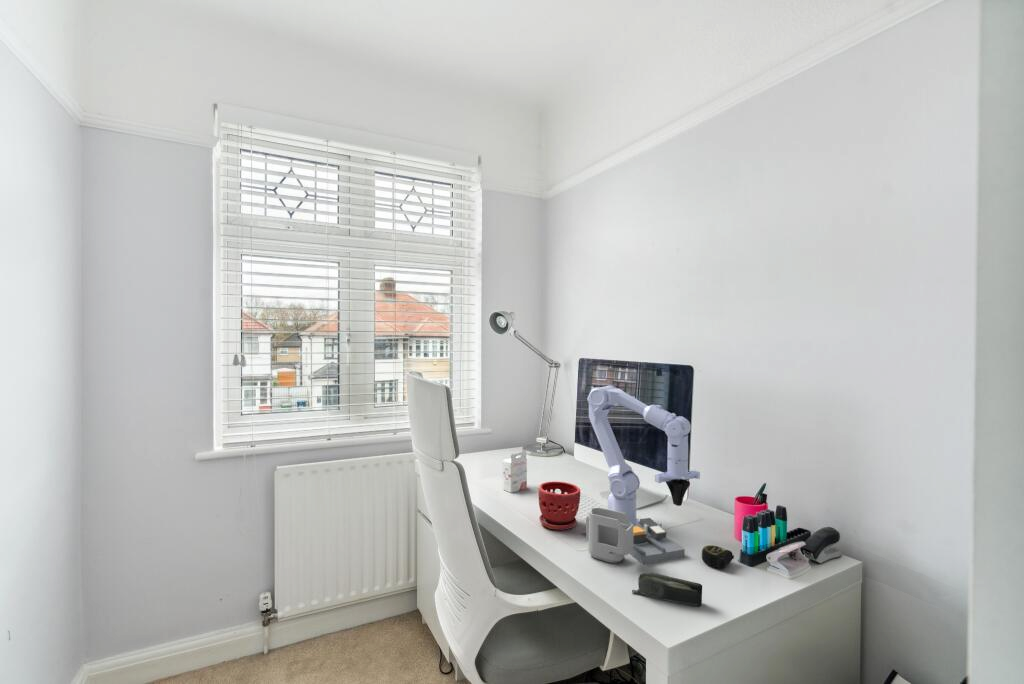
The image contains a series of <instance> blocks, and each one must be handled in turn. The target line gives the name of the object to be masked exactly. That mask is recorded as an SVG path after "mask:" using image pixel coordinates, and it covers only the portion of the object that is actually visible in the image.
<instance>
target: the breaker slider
mask: <svg viewBox="0 0 1024 684" xmlns="http://www.w3.org/2000/svg"><path fill="white" fill-rule="evenodd" d="M633 543H634V544H642V543H646V534H645V531H644V530H643V529H641V528H640V527H638V526H635V527H633Z"/></svg>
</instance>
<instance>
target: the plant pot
mask: <svg viewBox="0 0 1024 684" xmlns="http://www.w3.org/2000/svg"><path fill="white" fill-rule="evenodd" d="M556 490H560V493H556ZM551 491H552V492H551ZM580 502H581V488H580V487H579V486H577V485H576V484H573V483H569V482H566V481H565V482H564V481H545V482H543V483H541V484H539V486H538V505H539V510H540V515H539V518H538V519H539V522H540V523H541V524H542V525H543V526H544V527H546V528H548V529H551V530H555V531H556V530H559V531H563V530H564V531H565V530H568V529H572V528H573V527H574V526H575V525H576V523H577V518H576V516H577V514H578V511H579V508H580Z"/></svg>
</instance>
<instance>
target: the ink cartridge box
mask: <svg viewBox="0 0 1024 684" xmlns="http://www.w3.org/2000/svg"><path fill="white" fill-rule="evenodd" d="M527 461H528V460H527V451H520V452H515V453H512V454H510V458H507V459H503V460H502V481H503V482H502V483H503V485H502V488H503V489H502V490H503V491H505V492H508V493H512V494H513V493H515V492H516V493H517V492H519V491H522V490H525V489H527V488H528V487H527V486H528V483H527V482H528V481H527V480H528V477H527V475H528V474H527V472H528V467H527V465H528V463H527Z"/></svg>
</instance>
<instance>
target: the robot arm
mask: <svg viewBox="0 0 1024 684" xmlns="http://www.w3.org/2000/svg"><path fill="white" fill-rule="evenodd" d="M586 400H587V402H588V418H589V421H590V424H591V427H592V428H593V431H594V433H595V436H596V437H597V441H598V443H599V446H600V448H601V451H602V453H603V456H604V458H605V461H606V463H607V465H608V468H609V470H608V474H607V478H608V480H609V481H608V482H609V491H610V492H611V493H610V494H609V496H608V497H607V509H609V510H613V511H618V512H622V513H626V515H627V516H628V518H629V520H630V522H631V523H632V524H633V527H635V526H638V527H639V526H641V525H640V522H638V521H637V499H638V498H637V490H638V489H639V488H640V485H641V481H640V478H639V476H638V475H637V474H636V473H635V472H634V471H633V469H632V466H631V465H630V464H628V463H626V460H625V458H624V456H623V453H622V450H621V449H620V446H619V443H618V442H617V439H616V438H617V437H616V436H615V434H614V432H613V429H612V426H611V424H610V422H609V419H608V414H609V413H610V410H611V409H612V407H614V406H616V405H618V406H619V405H621V406H622V407H625V408H627V409H629V410H630V411H632V412H635V413H636V414H639V415H641V416H643V419H644V421H645V422H647V424H650V425H652V426H654V427H655V428H657V429H659V430H661V431H663V432H664V433H665V435H666V436H667V460H666V461H667V463H666V464H667V465H666V466H667V470H666V471H664V472H662V473H658V474H657V473H656V474H654V482H656V483H657V484H662V483H666V486H667V487H668V490H669V492H670V495H671V500H672V503H673V505H675V506H677V507H679V506H682V505H683V501H684V497H685V494H686V492H687V490H688V489H689V487H690V485H691V482H690V481H689V480H691V479H697V480H699V479H701V471H698V470H689V435H688V434H689V433H690V432H691V430H692V429H691V428H692V426H691V423H690V421H689V420H688V419H687V418H686V417H684V416H681V415H679V416H677V414H676V413H674V412H672V413H671V412H669V411H668V410H666V409H663V408H662V405H660V404H650V405H648V404H645V403H644V402H642V401H640V400H638V399H637V398H635V397H634V396H632V395H630V394H628V393H627V392H626V391H624V390H622V389H621V388H618V387H617V388H616V387H615V386H613V385H606V386H602V387H599V386H598V387H593V388H592V389H591V391H590V392H589V393H588V396H587V398H586ZM688 471H689V472H688ZM621 524H623V523H621ZM625 525H628V524H625Z"/></svg>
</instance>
